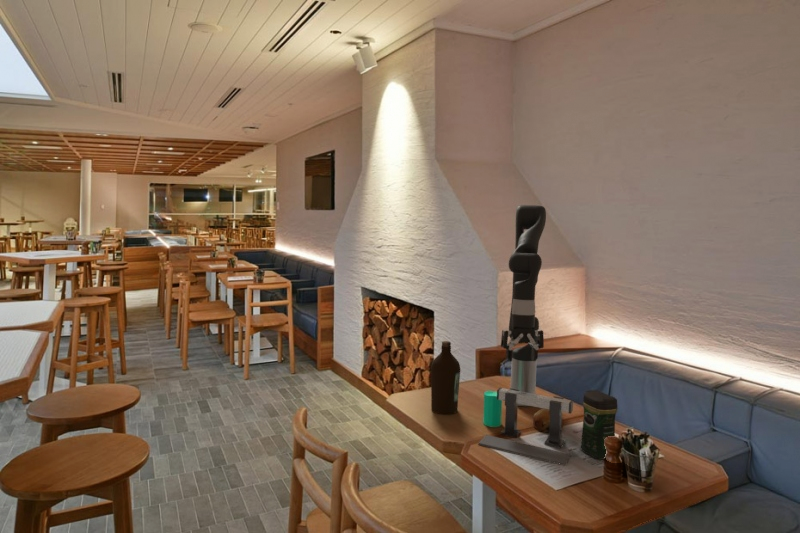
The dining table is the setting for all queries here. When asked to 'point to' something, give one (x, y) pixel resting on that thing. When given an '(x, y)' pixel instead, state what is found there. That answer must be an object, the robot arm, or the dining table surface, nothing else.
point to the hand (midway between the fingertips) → (521, 360)
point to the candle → (492, 409)
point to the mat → (525, 449)
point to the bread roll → (542, 420)
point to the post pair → (554, 426)
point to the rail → (536, 400)
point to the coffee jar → (597, 422)
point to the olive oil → (445, 381)
